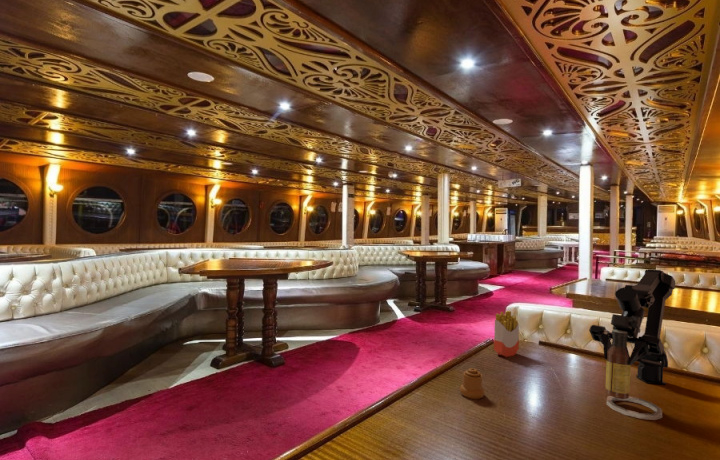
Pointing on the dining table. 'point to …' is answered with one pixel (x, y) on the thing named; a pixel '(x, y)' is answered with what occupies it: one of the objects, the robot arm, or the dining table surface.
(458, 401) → the dining table surface
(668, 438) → the dining table surface
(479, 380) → the ornamental finial
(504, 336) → the french fries container
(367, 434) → the dining table surface
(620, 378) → the sauce bottle
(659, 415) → the white faceted ring
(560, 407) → the dining table surface
